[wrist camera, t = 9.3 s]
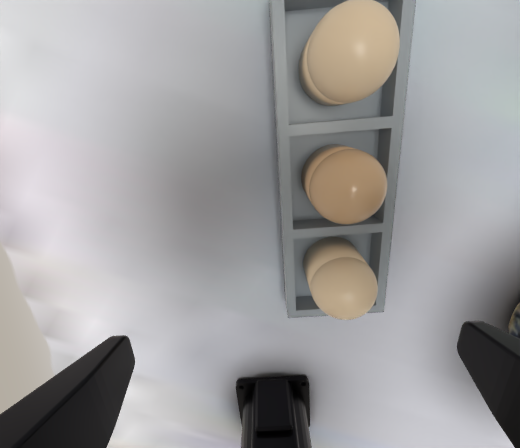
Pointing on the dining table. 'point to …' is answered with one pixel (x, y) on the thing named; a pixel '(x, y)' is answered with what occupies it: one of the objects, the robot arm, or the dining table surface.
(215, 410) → the dining table surface
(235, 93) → the dining table surface
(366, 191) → the egg
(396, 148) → the carton
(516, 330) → the jug
